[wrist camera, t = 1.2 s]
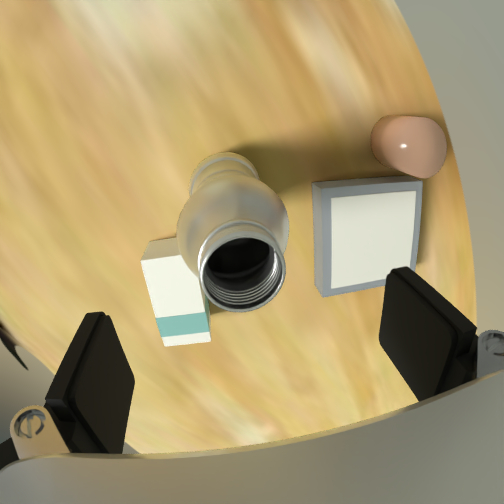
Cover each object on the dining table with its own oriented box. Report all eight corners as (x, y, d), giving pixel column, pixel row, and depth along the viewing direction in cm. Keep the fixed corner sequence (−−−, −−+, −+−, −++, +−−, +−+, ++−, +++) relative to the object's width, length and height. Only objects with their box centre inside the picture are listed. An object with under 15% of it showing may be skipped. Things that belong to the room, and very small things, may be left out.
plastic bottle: (269, 172, 32) (350, 248, 14) (231, 226, 34) (259, 358, 15) (215, 136, 30) (223, 161, 12) (177, 194, 32) (137, 299, 13)
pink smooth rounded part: (369, 114, 31) (398, 115, 25) (413, 116, 31) (446, 119, 26) (371, 168, 33) (399, 179, 27) (414, 166, 33) (446, 177, 28)
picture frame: (311, 182, 33) (321, 189, 30) (408, 175, 34) (423, 181, 31) (314, 284, 38) (322, 298, 35) (401, 268, 38) (414, 279, 36)
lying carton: (149, 241, 33) (140, 261, 28) (196, 234, 34) (194, 253, 29) (168, 319, 37) (164, 346, 32) (210, 314, 37) (211, 341, 33)
